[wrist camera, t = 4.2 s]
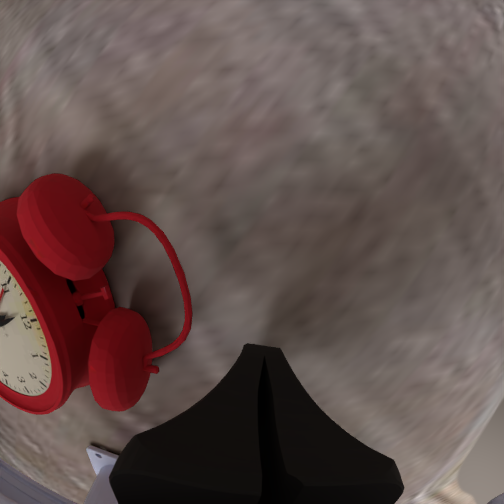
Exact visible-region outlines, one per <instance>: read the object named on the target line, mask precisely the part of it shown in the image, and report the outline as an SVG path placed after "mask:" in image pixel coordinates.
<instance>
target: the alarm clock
mask: <svg viewBox="0 0 504 504" xmlns="http://www.w3.org/2000/svg"><path fill="white" fill-rule="evenodd" d="M122 219H129V220H133V221H137V222H139V223H141V224H143V225H144V226H146V227H147V228H149V229H150V230H151V231H152V232H153V233H154V234H155V235H156V237H157V238H158V239H159V241H160V242H161V243H162V245H163V246H164V248H165V250H166V252H167V254H168V256H169V258H170V260H171V263H172V265H173V268H174V270H175V273H176V276H177V278H178V281H179V284H180V288H181V292H182V296H183V301H184V309H185V322H184V326H183V330H182V332H181V334H180V336H179V337H178V338H177V339H176V340H175V341H174V342H173V343H171V344H169V345H167V346H166V347H164V348H162V349H159V350H156V351H154V352H152V339H151V335H150V330H149V327H148V325H147V323H146V321H145V320H144V318H143V317H142V316H141V315H140V314H138V313H137V312H135V311H133V310H130V309H127V308H123V307H118V308H115V305H114V301H113V298H112V294H111V291H110V287H109V284H108V282H107V279H106V276H105V274H104V272H103V270H102V268H103V267H104V266H105V265H106V263H107V262H108V261H109V259H110V257H111V255H112V252H113V248H114V244H115V243H114V230H113V228H112V225H111V222H110V221H111V220H122ZM191 324H192V305H191V297H190V293H189V289H188V285H187V282H186V278H185V274H184V271H183V269H182V267H181V264H180V262H179V260H178V257H177V255H176V253H175V250H174V248H173V247H172V245H171V243H170V242H169V240H168V239H167V237H166V235H165V234H164V232H163V231H162V230H161V229H160V228H159V227H158V226H157V225H156V224H155V223H154V222H153V221H152V220H150V219H148V218H147V217H145V216H143V215H141V214H138V213H133V212H113V213H107V212H106V211H105V209H104V207H103V206H102V204H101V202H100V201H99V199H98V198H97V197H96V196H95V195H94V194H93V193H92V192H91V190H90V189H89V188H87V187H86V186H85V185H84V184H82V183H81V182H80V181H78V180H77V179H74V178H72V177H69V176H67V175H63V174H55V173H54V174H49V175H45V176H42V177H39V178H38V179H36V180H34V181H33V182H32V183H31V184H30V185H29V186H28V187H27V188H26V189H25V190H24V192H23V193H22V194H21V196H20V197H15V198H10V199H7V200H4V201H2V202H0V397H1V398H3V399H4V400H5V401H7V402H8V403H10V404H11V405H13V406H15V407H17V408H18V409H20V410H23V411H25V412H28V413H32V414H48V413H50V412H52V411H54V410H56V409H58V408H60V407H61V406H62V405H63V404H64V403H65V402H66V401H67V399H68V398H69V396H70V395H71V393H72V392H73V390H74V389H76V388H79V387H84V386H87V385H89V384H90V387H91V390H92V393H93V396H94V399H95V401H96V402H97V403H98V404H99V405H100V406H101V407H102V408H104V409H107V410H111V411H125V410H127V409H129V408H131V407H133V406H134V405H135V404H136V403H137V402H138V401H139V399H140V398H141V396H142V395H143V393H144V391H145V389H146V386H147V383H148V380H149V377H150V373H156V374H157V373H158V372H159V367H158V366H153V365H152V358H156V357H160V356H163V355H165V354H167V353H169V352H171V351H173V350H174V349H176V348H178V347H179V346H180V345H181V344H182V343H183V342H184V341H185V340H186V338H187V336H188V334H189V332H190V330H191Z"/></svg>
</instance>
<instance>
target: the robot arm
mask: <svg viewBox="0 0 504 504" xmlns="http://www.w3.org/2000/svg"><path fill="white" fill-rule="evenodd" d="M86 451H87V453H88V456H89V458H90V461H91V463H92V465H93V468H94V470H95V472H96V475H97V477H96V479H95V481H94V483H93V485H92V487H91V489H90V491H89V493H88V495H87V497H86V499H85V501H84V503H83V504H394V503H395V502H396V501H397V500H398V499H399V497H400V496H401V495H402V493H403V490H404V485H403V482H402V479H401V476H400V473H399V470H398V468H397V466H396V464H395V461H394V460H393V459H391V458H389V457H387V456H385V455H383V454H381V453H379V452H377V451H375V450H373V449H371V448H370V447H368V446H366V445H365V444H363V443H362V442H360V441H359V440H357V439H356V438H354V437H353V436H351V435H350V434H349V433H347V432H346V431H345V430H343V429H342V428H341V427H340V426H339V425H337V424H336V423H335V422H334V421H333V420H332V419H330V418H329V417H328V416H327V415H326V414H325V413H324V412H323V411H322V410H321V409H320V407H319V406H318V405H317V404H316V403H315V402H314V401H313V400H312V398H311V397H310V396H309V394H308V393H307V392H306V390H305V389H304V388H303V386H302V385H301V383H300V382H299V380H298V379H297V377H296V375H295V374H294V372H293V371H292V369H291V367H290V365H289V364H288V362H287V360H286V358H285V356H284V354H283V352H282V350H281V349H280V348H276V347H269V346H262V345H255V344H249V343H247V344H245V345H244V347H243V350H242V352H241V354H240V356H239V357H238V359H237V361H236V362H235V364H234V365H233V366H232V368H231V369H230V371H229V372H228V373H227V374H226V376H225V377H224V378H223V379H222V380H221V381H220V382H219V383H218V385H217V386H216V387H215V388H214V389H213V390H211V391H210V392H209V393H208V394H207V395H206V396H205V397H204V398H202V399H201V400H200V401H199V402H197V403H196V404H195V405H193V406H192V407H191V408H189V409H188V410H186V411H185V412H183V413H181V414H180V415H178V416H176V417H174V418H173V419H171V420H169V421H167V422H165V423H164V424H161V425H159V426H157V427H155V428H152V429H150V430H147V431H145V432H142V433H140V434H137V435H135V436H134V437H133V438H132V439H131V440H130V442H129V443H128V444H127V445H126V447H125V448H124V449H123V451H122V452H121V454H120V455H116V454H113V453H110V452H108V451H105V450H102V449H100V448H97V447H95V446H92V445H89V446H88V447H87V449H86ZM0 504H77V503H75V502H73V501H71V500H69V499H67V498H65V497H63V496H61V495H59V494H57V493H55V492H53V491H52V490H50V489H48V488H46V487H44V486H43V485H41V484H39V483H37V482H36V481H34V480H32V479H31V478H29V477H27V476H26V475H24V474H23V473H21V472H20V471H18V470H16V469H15V468H13V467H12V466H11V465H9V464H8V463H6V462H5V461H3V460H2V459H1V458H0ZM487 504H504V493H502V494H500V495H499V496H497V497H495V498H494V499H492V500H491V501H490V502H488V503H487Z"/></svg>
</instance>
